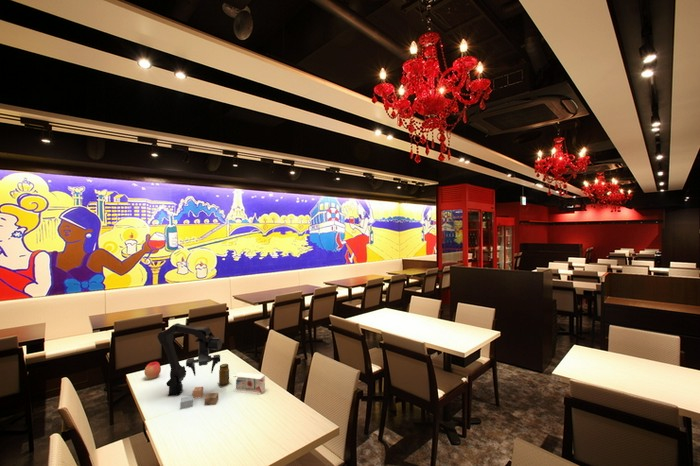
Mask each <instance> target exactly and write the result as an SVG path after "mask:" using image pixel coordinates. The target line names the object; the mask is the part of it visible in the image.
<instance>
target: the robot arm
mask: <svg viewBox="0 0 700 466" xmlns="http://www.w3.org/2000/svg"><path fill="white" fill-rule="evenodd" d="M175 333H180V334H181V333H183V334H188V335H191V336H194V337H195V338H196V339H195V342H196V343H198V356H197V358H196V359H195V357H191V358H187V359H186V362H185V365H183V366H182V365H181V364H180V361H179V358H178V355H177V352H176V348H175V345H174V334H175ZM157 340H158V342H159V344H161V345H162V346H163V349H164V351H165V354H166V356H167V361H168V364H169V367H170V372H169V377H170V378H169V380H168V381H167V382H166V387H168V394H167V396H168V397H173V396H180V395H181V393H182V392H183V390H184V387H183V386H184V384H183V381H184V378H186V375H187V370H186V367H188V368H191V371H192V373H193V376H194V377H195V376H196V365H195V364H196V363H198V367H200V366H201V367H202V366H207V365H208V363H210V362H212V365H211V372H210V374H213V371H214V368H215V366H216V365H217V364H219V363H220V362H221V355H220V354H214V355H210V354H209V353H210V350H213V351H215V350H216V351H219V350H221V349H222V347H223V346H222V345H223V341H222V340H221V337H215V335H214V334H213V332H212V331H211V328H210V327H208V326H192V325H188V324H181V323H179V322H176V323H174V324H172V325H171V326H170V327H168V328H167V329H165V330H162V331H160V332H158V334H157ZM212 356H213V357H212Z"/></svg>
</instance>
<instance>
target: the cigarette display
mask: <svg viewBox="0 0 700 466" xmlns="http://www.w3.org/2000/svg"><path fill="white" fill-rule="evenodd" d="M265 376H266V375H265V374H261V373H259V374H258V373H250V372H240V371H239V372H237V373H236V374H234V375H233V377H235V378H237V379H235V389H234V390H233V392H238V393H247V394H255V395H262V394H264V393H265V391H266V377H265Z"/></svg>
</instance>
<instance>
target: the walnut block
mask: <svg viewBox="0 0 700 466" xmlns="http://www.w3.org/2000/svg"><path fill="white" fill-rule="evenodd" d="M218 400H219V392H209V393H207V394H206V396H205V397H204V406H212V405H217V403H218Z"/></svg>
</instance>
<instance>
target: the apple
mask: <svg viewBox="0 0 700 466" xmlns="http://www.w3.org/2000/svg"><path fill="white" fill-rule="evenodd" d="M143 371H144V376H145V377H146V378H147V379H151V380H152V379H155V378H157V377H158V376H160V374H161V371H162V367H161V365H160V362H158V361H152V362H149V363H148V364H146V366H145V368H144V370H143Z"/></svg>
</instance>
